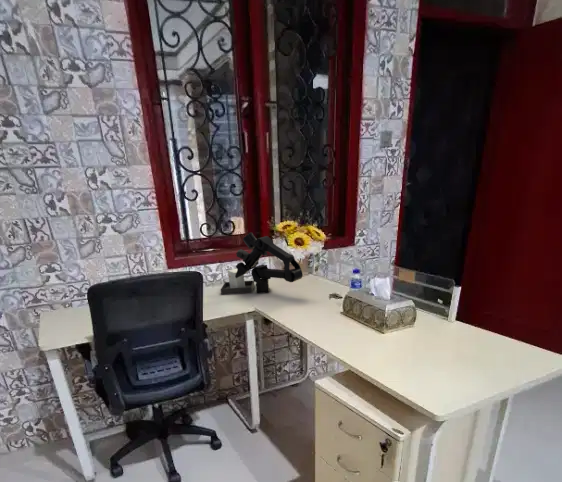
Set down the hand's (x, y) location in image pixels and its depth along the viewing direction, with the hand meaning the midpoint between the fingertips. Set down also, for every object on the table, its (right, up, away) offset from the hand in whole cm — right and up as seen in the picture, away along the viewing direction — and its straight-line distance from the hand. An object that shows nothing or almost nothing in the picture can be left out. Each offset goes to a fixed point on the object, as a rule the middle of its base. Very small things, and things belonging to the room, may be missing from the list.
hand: (239, 275), depth 232 cm
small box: (-1, -7, +5) cm, 9 cm away
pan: (-1, -7, +5) cm, 9 cm away
